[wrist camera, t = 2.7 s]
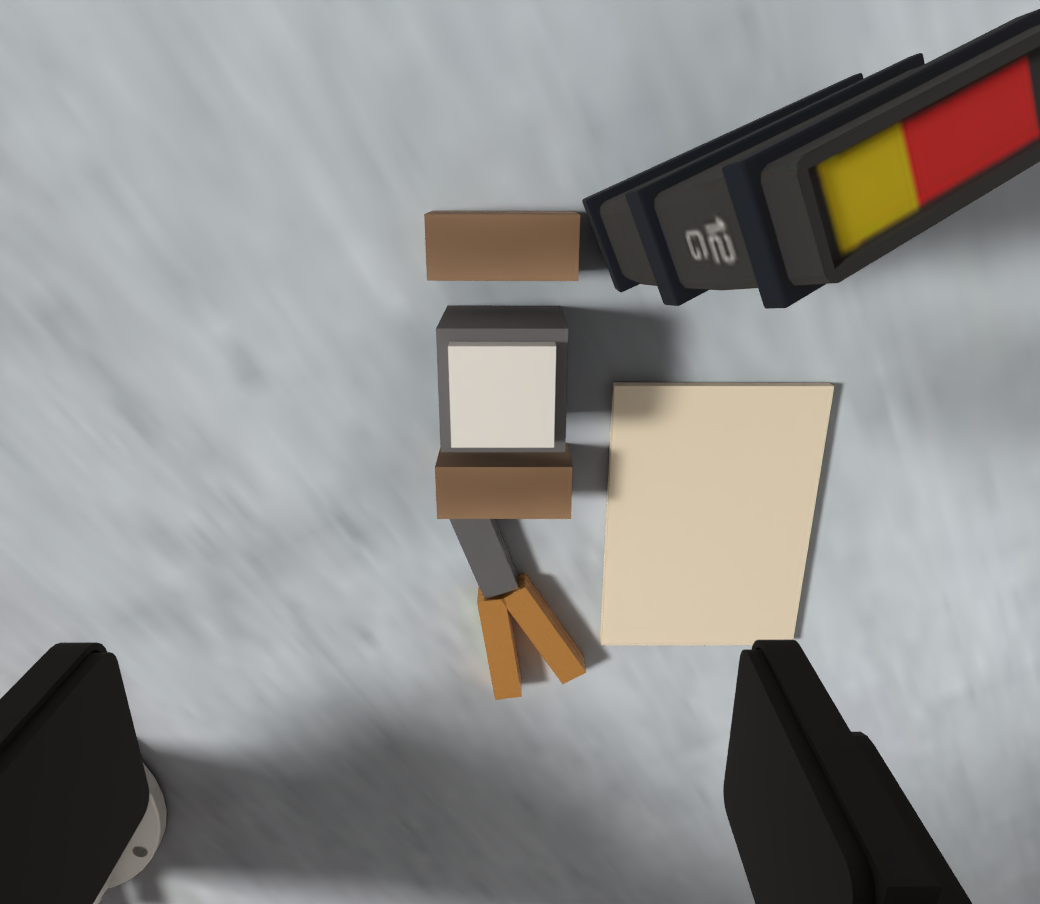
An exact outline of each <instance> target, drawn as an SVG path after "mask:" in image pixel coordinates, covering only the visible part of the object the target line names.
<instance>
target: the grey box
mask: <svg viewBox="0 0 1040 904" xmlns="http://www.w3.org/2000/svg"><path fill="white" fill-rule="evenodd" d="M436 339H437V365H438V391H439V417H440V443H441V452H565V438H566V401H567V364H568V326H567V323H566V320H565V318H564V315H563V312H562V309H561V306H447V308H446V310H445V312H444V314H443V316H442V318H441V320H440V322H439V324H438V326H437V328H436Z"/></svg>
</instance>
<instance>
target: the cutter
mask: <svg viewBox="0 0 1040 904" xmlns="http://www.w3.org/2000/svg"><path fill="white" fill-rule="evenodd" d="M450 521H451V524H452V526H453V528H454V530H455V533H456V535H457V537H458V539H459V542H460V544H461V546H462V549H463V551H464V553H465V555H466V558H467V560H468V562H469V564H470V567H471V569H472V571H473V574H474V576H475V578H476V580H477V583H478V585H479V588H478V599H477V604H478V609H479V615H480V620H481V625H482V631H483V636H484V642H485V647H486V652H487V658H488V663H489V669H490V674H491V679H492V685H493V690H494V696H495V700H496V699H505V698H513V697H522V687H521V674H520V668H519V662H518V656H517V650H516V644H515V638H514V632H513V626H512V620H511V614H512V616H513V617H514V618H515V620H516V621H517V623H518V624H519V625H520V627H521V628H522V629H523V631H524V632H525V633H526V635H527V636H528V638H529V639H530V640H531V642H532V643H533V644H534V646H535V647H536V648H537V650H538V651H539V653H540V654H541V655H542V657H543V658H544V659H545V661H546V662H547V663H548V665H549V666H550V668H551V669H552V670H553V672H554V673H555V674H556V676H557V677H558V678H559V680H560V681H561V683H562V684H564V683H566V682H568V681H570V680H572V679H574V678H576V677H578V676H580V675H582V674H584V673H586V669H585V662H584V656H583V654H582V653H581V651H580V650H579V648H578V647H577V646H576V644H575V643H574V641H573V640H572V639H571V637H570V636H569V634H568V633H567V632H566V630H565V629H564V627H563V626H562V624H561V623H560V622H559V620H558V619H557V617H556V616H555V615H554V613H553V612H552V610H551V609H550V608H549V606H548V605H547V603H546V602H545V600H544V599H543V598H542V596H541V595H540V593H539V592H538V591H537V589H536V588H535V586H534V585H533V584H532V582H531V581H530V579H529V578H528V576H527V575H526V574H525V573H523V574H521V575H519V576H518V573H517V571H516V569H515V566H514V564H513V561H512V559H511V556H510V554H509V552H508V549H507V547H506V544H505V542H504V540H503V537H502V535H501V532H500V530H499V528H498V525H497V523H496V520H495V519H450ZM510 613H511V614H510Z"/></svg>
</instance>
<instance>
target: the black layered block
mask: <svg viewBox="0 0 1040 904" xmlns="http://www.w3.org/2000/svg"><path fill="white" fill-rule="evenodd" d="M1039 161H1040V9H1038V10H1036V11H1033V12H1030V13H1028V14H1025V15H1022V16H1020V17H1017V18H1015V19H1013V20H1011V21H1009V22H1007V23H1005V24H1003V25H1001V26H999V27H997V28H995V29H993V30H991V31H989V32H987V33H985V34H983V35H981V36H979V37H978V38H976V39H974V40H972V41H970V42H968V43H966V44H964V45H962V46H960V47H958V48H956V49H954V50H952V51H950V52H948V53H946V54H944V55H942V56H940V57H938V58H936V59H934V60H932V61H930V62H928V63H926V64H925V63H924V58H923V54H922V53H919V54H916V55H913V56H910V57H908V58H906V59H904V60H902V61H900V62H898V63H896V64H893V65H891V66H889V67H887V68H885V69H883V70H881V71H879V72H877V73H875V74H873V75H871V76H868V77H866V78H864V79H863V75H862V73H859V74H856V75H853V76H851V77H849V78H846V79H844V80H842V81H840V82H838V83H836V84H833V85H831V86H829V87H827V88H825V89H822V90H820V91H818V92H816V93H814V94H812V95H809V96H807V97H805V98H803V99H801V100H798V101H796V102H794V103H792V104H790V105H788V106H785V107H783V108H781V109H779V110H777V111H774V112H772V113H770V114H768V115H766V116H764V117H761V118H759V119H757V120H755V121H753V122H750V123H748V124H746V125H744V126H742V127H740V128H737V129H735V130H733V131H731V132H729V133H726V134H724V135H722V136H720V137H718V138H716V139H713V140H711V141H709V142H707V143H705V144H702V145H700V146H698V147H696V148H694V149H692V150H689V151H687V152H685V153H683V154H681V155H678V156H676V157H674V158H672V159H670V160H668V161H665V162H663V163H661V164H659V165H657V166H654V167H652V168H650V169H648V170H646V171H644V172H641V173H639V174H637V175H635V176H633V177H630V178H628V179H626V180H624V181H622V182H620V183H617V184H615V185H613V186H611V187H609V188H606V189H604V190H602V191H600V192H598V193H596V194H593V195H591V196H589V197H587V198H585V199H583V204H584V207H585V210H586V212H587V215H588V218H589V220H590V223H591V225H592V228H593V231H594V233H595V236H596V239H597V241H598V244H599V247H600V249H601V252H602V254H603V257H604V260H605V262H606V265H607V268H608V270H609V273H610V276H611V278H612V281H613V283H614V286H615V288H616V289H617V290H618V291H620V292H623V291H625V290H628V289H630V288H632V287H634V286H636V285H639V284H645V285H654V286H658V289H659V292H660V295H661V297H662V300H663V303H664V304H665V305H674V306H679V305H681V304H683V303H685V302H687V301H689V300H691V299H693V298H695V297H696V296H698V295H700V294H702V293H704V292H706V291H708V290H733V289H749V288H758V289H759V292H760V295H761V298H762V301H763V305H764V307H765V308H787V307H788V306H790V305H792V304H793V303H795V302H797V301H798V300H800V299H802V298H803V297H805V296H807V295H808V294H810V293H812V292H813V291H815V290H817V289H818V288H820V287H822V286H823V285H825V284H827V283H839V282H841V281H842V280H844V279H845V278H847V277H849V276H850V275H852V274H854V273H855V272H857V271H859V270H860V269H862V268H864V267H865V266H867V265H869V264H870V263H872V262H874V261H875V260H877V259H879V258H880V257H882V256H884V255H885V254H887V253H889V252H890V251H892V250H894V249H895V248H897V247H899V246H900V245H902V244H904V243H905V242H907V241H908V240H910V239H912V238H913V237H915V236H917V235H918V234H920V233H922V232H923V231H925V230H927V229H928V228H930V227H932V226H933V225H935V224H937V223H938V222H940V221H942V220H943V219H945V218H947V217H948V216H950V215H952V214H953V213H955V212H957V211H958V210H960V209H962V208H963V207H965V206H967V205H968V204H970V203H971V202H973V201H975V200H976V199H978V198H980V197H981V196H983V195H985V194H986V193H988V192H990V191H991V190H993V189H995V188H996V187H998V186H1000V185H1001V184H1003V183H1005V182H1006V181H1008V180H1010V179H1011V178H1013V177H1015V176H1016V175H1018V174H1020V173H1021V172H1023V171H1025V170H1026V169H1028V168H1030V167H1031V166H1033V165H1034V164H1036V163H1038V162H1039Z"/></svg>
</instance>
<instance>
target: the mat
mask: <svg viewBox="0 0 1040 904" xmlns="http://www.w3.org/2000/svg"><path fill="white" fill-rule="evenodd" d="M833 391H834V386H833V385H832V384H830V383H721V382H613V389H612V409H611V429H610V449H609V470H608V490H607V510H606V530H605V550H604V570H603V590H602V611H601V631H600V640H601V645H753V644H754V642H755V641H756V640H792V639H793V638H794V632H795V626H796V620H797V613H798V607H799V601H800V595H801V589H802V583H803V576H804V570H805V564H806V558H807V552H808V546H809V539H810V533H811V527H812V521H813V515H814V508H815V502H816V496H817V490H818V484H819V478H820V471H821V465H822V459H823V453H824V447H825V441H826V434H827V428H828V422H829V416H830V410H831V404H832V397H833Z"/></svg>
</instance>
